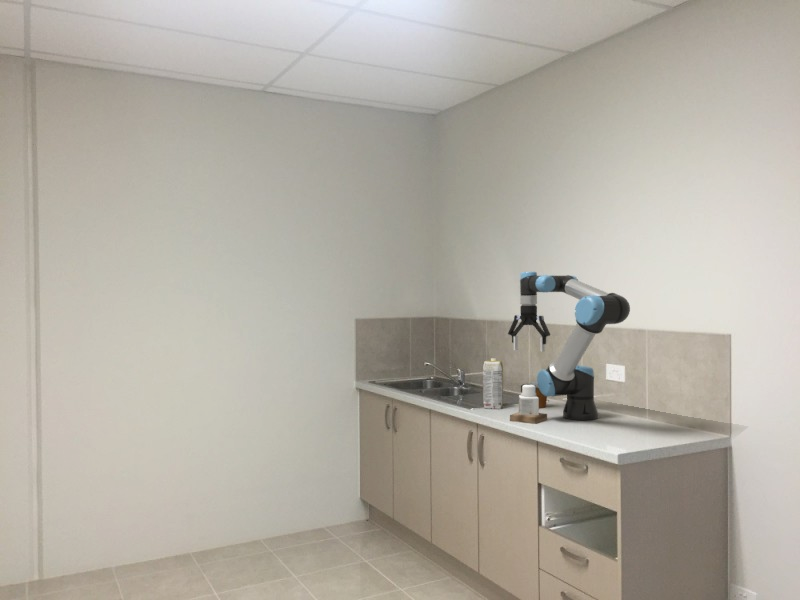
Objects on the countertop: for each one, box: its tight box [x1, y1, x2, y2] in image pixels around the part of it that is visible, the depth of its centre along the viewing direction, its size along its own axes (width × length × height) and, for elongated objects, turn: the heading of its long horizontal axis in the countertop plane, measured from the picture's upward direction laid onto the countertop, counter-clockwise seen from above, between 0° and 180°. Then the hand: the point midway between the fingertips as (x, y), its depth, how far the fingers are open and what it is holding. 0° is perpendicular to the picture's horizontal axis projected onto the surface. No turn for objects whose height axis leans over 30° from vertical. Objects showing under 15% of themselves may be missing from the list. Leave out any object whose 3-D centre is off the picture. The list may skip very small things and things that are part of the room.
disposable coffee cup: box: [529, 380, 548, 409], centre depth 340 cm, size 10×10×12 cm
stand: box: [509, 411, 548, 425], centre depth 306 cm, size 12×12×3 cm
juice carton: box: [482, 357, 504, 410], centre depth 338 cm, size 9×8×24 cm
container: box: [518, 383, 540, 415], centre depth 306 cm, size 8×8×13 cm
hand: (528, 350), depth 324 cm, fingers open, 13 cm apart
